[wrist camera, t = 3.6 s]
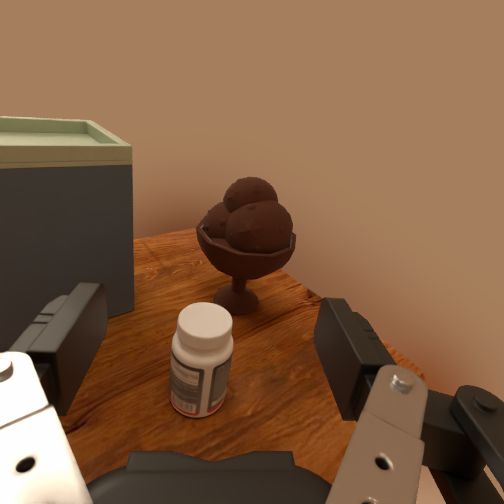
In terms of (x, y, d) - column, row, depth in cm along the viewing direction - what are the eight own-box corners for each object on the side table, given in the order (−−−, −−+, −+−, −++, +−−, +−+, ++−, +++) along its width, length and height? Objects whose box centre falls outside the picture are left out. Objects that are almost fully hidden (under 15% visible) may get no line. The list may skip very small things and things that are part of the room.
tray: (-66, 171, 21) (-74, 144, 20) (-69, 132, 27) (-74, 112, 27) (132, 164, 28) (132, 145, 28) (92, 136, 35) (91, 120, 34)
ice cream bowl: (172, 293, 40) (179, 170, 33) (239, 268, 47) (256, 163, 40) (231, 345, 34) (255, 209, 27) (297, 307, 41) (329, 192, 34)
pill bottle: (217, 368, 31) (228, 296, 27) (231, 412, 27) (246, 336, 23) (165, 376, 29) (169, 300, 25) (172, 425, 25) (178, 345, 21)
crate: (-11, 355, 28) (-66, 171, 21) (-23, 289, 35) (-69, 132, 27) (134, 310, 36) (132, 164, 28) (101, 263, 43) (92, 136, 35)
